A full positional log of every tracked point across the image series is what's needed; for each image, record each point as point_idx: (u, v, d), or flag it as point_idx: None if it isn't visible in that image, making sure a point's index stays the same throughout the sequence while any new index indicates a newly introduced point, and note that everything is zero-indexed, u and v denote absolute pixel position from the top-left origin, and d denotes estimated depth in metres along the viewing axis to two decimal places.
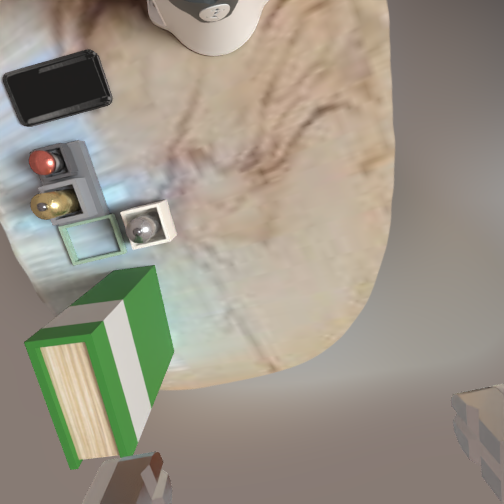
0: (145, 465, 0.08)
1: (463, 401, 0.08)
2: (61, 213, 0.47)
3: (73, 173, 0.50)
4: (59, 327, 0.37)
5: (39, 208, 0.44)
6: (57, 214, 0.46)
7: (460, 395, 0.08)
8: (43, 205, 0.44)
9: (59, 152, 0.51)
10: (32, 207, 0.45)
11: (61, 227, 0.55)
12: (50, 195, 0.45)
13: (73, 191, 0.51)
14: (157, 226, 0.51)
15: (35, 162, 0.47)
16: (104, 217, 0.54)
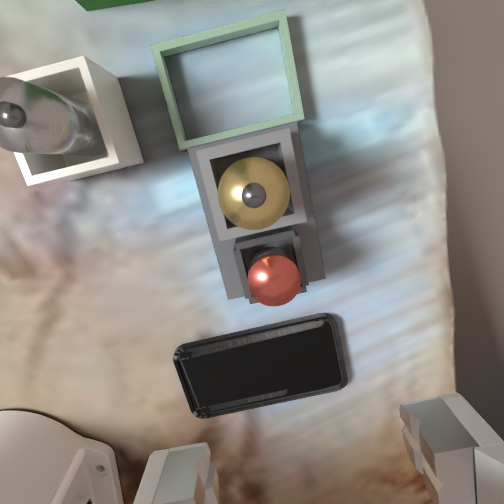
0: (196, 456, 0.08)
1: (407, 412, 0.08)
2: None
3: None
4: None
5: (259, 192, 0.16)
6: None
7: (405, 405, 0.08)
8: (246, 201, 0.16)
9: None
10: (286, 191, 0.16)
11: (296, 117, 0.23)
12: None
13: None
14: None
15: (286, 282, 0.21)
16: (194, 142, 0.24)
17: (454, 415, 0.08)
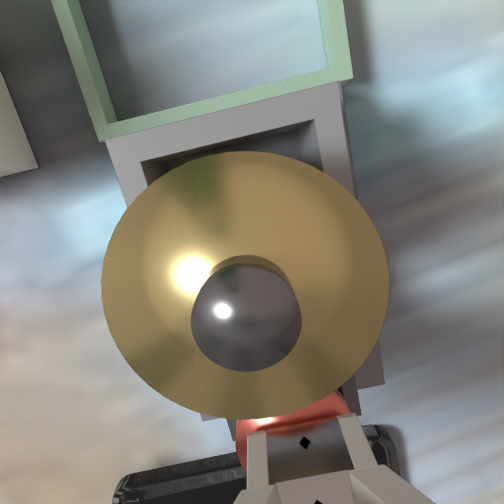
0: (300, 435, 0.08)
1: (302, 432, 0.08)
2: None
3: None
4: None
5: (269, 309, 0.03)
6: None
7: (303, 425, 0.08)
8: (213, 347, 0.04)
9: None
10: (374, 290, 0.04)
11: (337, 75, 0.11)
12: None
13: None
14: None
15: None
16: (129, 126, 0.12)
17: (342, 436, 0.08)
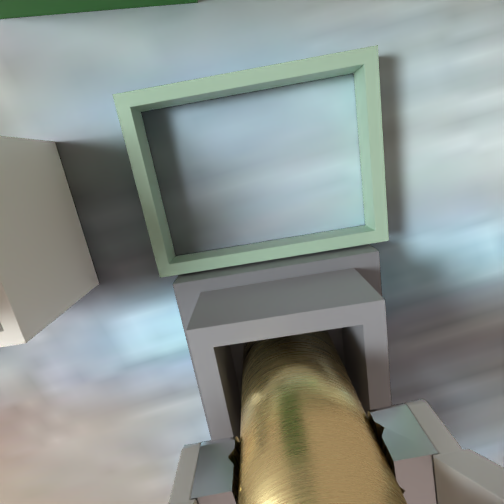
0: (230, 449, 0.08)
1: (373, 418, 0.08)
2: (263, 457, 0.07)
3: None
4: None
5: None
6: None
7: (372, 412, 0.08)
8: None
9: None
10: None
11: (375, 237, 0.13)
12: None
13: None
14: None
15: None
16: (188, 266, 0.13)
17: (417, 422, 0.08)
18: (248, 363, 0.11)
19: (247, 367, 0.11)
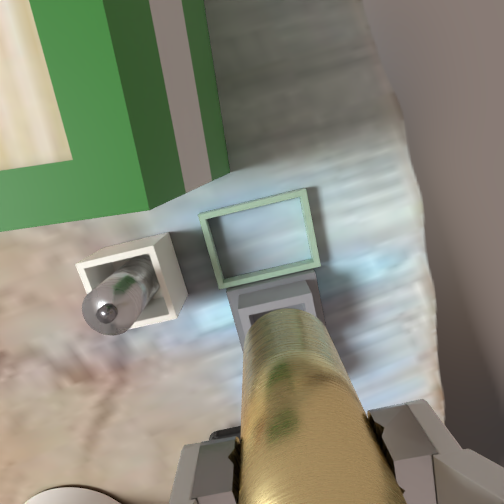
0: (230, 449, 0.08)
1: (373, 418, 0.08)
2: (263, 458, 0.07)
3: None
4: None
5: None
6: None
7: (372, 412, 0.08)
8: None
9: None
10: None
11: (314, 265, 0.29)
12: None
13: None
14: None
15: None
16: (231, 283, 0.29)
17: (417, 422, 0.08)
18: (248, 364, 0.11)
19: (247, 368, 0.11)
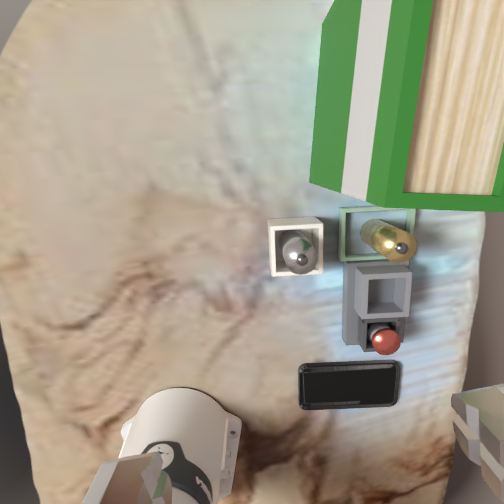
0: (145, 465, 0.08)
1: (463, 401, 0.08)
2: (383, 234, 0.37)
3: (363, 318, 0.43)
4: None
5: (405, 247, 0.35)
6: (386, 236, 0.36)
7: (460, 395, 0.08)
8: (399, 251, 0.35)
9: None
10: (415, 245, 0.36)
11: None
12: None
13: None
14: (282, 247, 0.39)
15: (392, 344, 0.41)
16: (350, 259, 0.43)
17: None
18: (367, 231, 0.41)
19: (368, 231, 0.41)
